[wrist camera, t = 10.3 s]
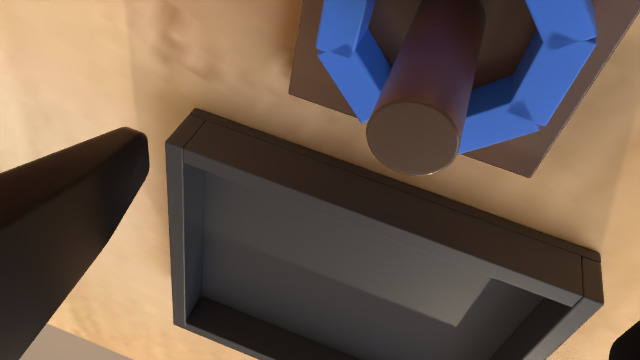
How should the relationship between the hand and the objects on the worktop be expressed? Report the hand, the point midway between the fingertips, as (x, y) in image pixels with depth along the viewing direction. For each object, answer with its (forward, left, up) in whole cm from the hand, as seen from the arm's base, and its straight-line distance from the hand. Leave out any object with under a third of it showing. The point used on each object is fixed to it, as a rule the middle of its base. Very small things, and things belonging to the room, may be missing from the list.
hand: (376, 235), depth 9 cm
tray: (0, +15, -10) cm, 18 cm away
